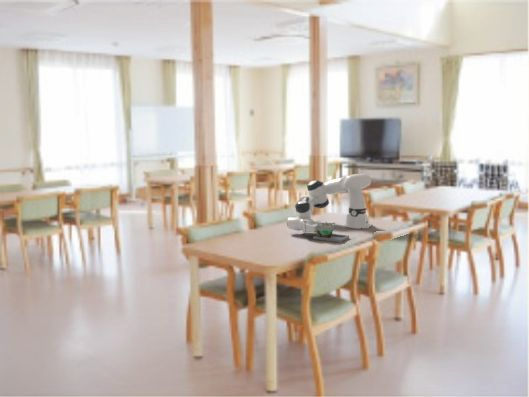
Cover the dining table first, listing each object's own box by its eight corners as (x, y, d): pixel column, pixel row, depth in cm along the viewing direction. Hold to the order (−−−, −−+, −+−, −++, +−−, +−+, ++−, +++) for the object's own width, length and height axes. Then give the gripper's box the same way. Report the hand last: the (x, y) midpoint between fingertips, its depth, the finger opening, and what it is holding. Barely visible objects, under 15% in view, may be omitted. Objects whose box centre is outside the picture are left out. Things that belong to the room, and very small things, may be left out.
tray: (322, 235, 363) (322, 232, 362) (349, 238, 353) (349, 235, 353) (313, 239, 350) (313, 236, 350) (340, 242, 340) (340, 239, 340)
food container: (317, 240, 347) (319, 227, 342) (315, 234, 352) (316, 222, 347) (335, 239, 349) (337, 227, 344) (333, 234, 354) (335, 221, 349)
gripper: (315, 227, 368) (334, 229, 361) (301, 232, 351) (321, 235, 344) (315, 218, 367) (334, 220, 360) (302, 223, 350) (321, 225, 343)
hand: (327, 227), depth 352 cm, fingers open, 8 cm apart
